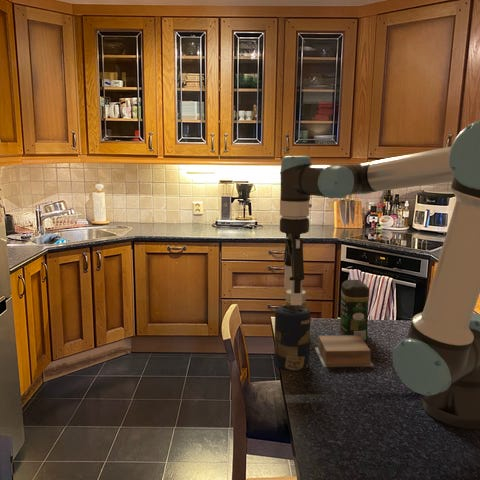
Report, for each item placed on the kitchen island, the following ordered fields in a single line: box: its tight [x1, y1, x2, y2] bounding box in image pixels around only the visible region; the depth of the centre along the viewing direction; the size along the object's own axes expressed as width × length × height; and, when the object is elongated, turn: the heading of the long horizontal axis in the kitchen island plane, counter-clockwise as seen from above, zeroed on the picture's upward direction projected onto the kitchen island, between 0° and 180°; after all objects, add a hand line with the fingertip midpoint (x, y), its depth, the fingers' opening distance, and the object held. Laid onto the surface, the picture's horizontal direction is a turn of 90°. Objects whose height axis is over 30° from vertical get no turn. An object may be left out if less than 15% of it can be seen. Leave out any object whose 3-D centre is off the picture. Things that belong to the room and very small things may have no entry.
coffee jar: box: [339, 279, 370, 341], centre depth 150 cm, size 10×8×19 cm
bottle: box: [284, 289, 308, 308], centre depth 152 cm, size 7×7×15 cm
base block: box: [317, 334, 372, 365], centre depth 135 cm, size 11×12×4 cm
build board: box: [314, 346, 375, 368], centre depth 135 cm, size 18×15×1 cm
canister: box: [273, 304, 312, 372], centre depth 130 cm, size 10×10×18 cm
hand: (292, 296), depth 128 cm, fingers open, 13 cm apart
